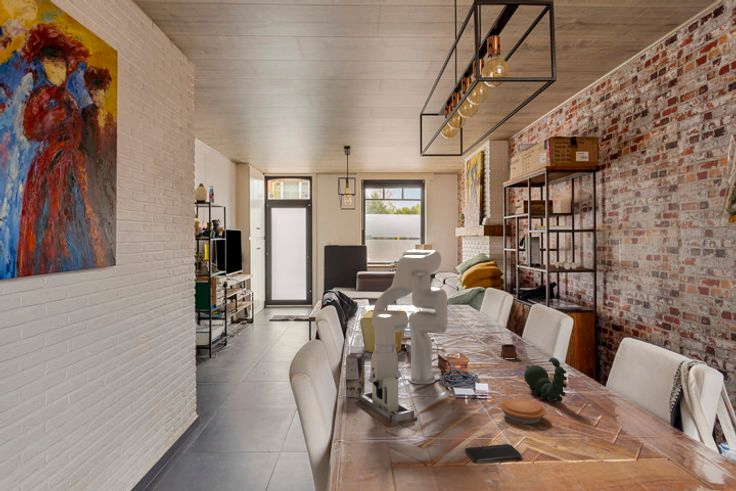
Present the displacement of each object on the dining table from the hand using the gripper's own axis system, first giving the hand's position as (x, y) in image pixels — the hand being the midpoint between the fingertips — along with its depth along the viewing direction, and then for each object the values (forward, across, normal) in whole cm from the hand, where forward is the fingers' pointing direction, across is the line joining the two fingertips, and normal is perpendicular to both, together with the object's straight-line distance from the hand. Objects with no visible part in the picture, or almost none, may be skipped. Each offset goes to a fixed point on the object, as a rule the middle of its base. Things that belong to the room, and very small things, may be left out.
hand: (385, 396), depth 156 cm
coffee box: (+6, +1, -22) cm, 23 cm away
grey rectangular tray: (+6, 0, 0) cm, 6 cm away
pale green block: (+3, 0, 0) cm, 3 cm away
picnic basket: (+6, -50, -82) cm, 96 cm away
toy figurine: (+6, -64, +19) cm, 67 cm away
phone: (+6, -11, +43) cm, 45 cm away
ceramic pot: (+6, -97, -29) cm, 102 cm away
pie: (+6, -40, +29) cm, 50 cm away
